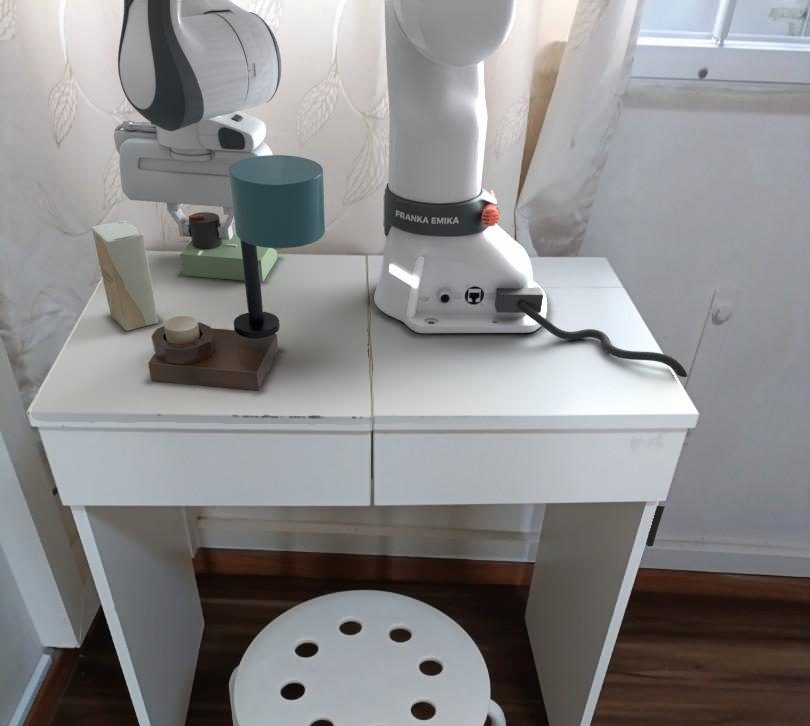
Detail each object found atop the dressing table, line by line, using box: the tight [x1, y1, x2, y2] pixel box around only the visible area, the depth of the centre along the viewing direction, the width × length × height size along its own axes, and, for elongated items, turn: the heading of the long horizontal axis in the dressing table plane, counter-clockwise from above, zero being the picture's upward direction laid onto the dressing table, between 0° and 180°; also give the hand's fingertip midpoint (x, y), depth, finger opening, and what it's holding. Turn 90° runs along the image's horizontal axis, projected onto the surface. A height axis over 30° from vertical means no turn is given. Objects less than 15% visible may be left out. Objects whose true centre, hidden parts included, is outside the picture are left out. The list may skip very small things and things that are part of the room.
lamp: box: [229, 154, 326, 338], centre depth 83 cm, size 10×9×17 cm
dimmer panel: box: [177, 234, 278, 283], centre depth 109 cm, size 13×8×3 cm, turn 83°
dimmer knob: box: [188, 211, 222, 249], centre depth 107 cm, size 4×4×4 cm
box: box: [91, 219, 159, 332], centre depth 94 cm, size 5×4×11 cm
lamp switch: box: [163, 315, 200, 344], centre depth 87 cm, size 4×4×2 cm
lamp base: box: [147, 321, 279, 391], centre depth 89 cm, size 12×9×4 cm
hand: (207, 236), depth 108 cm, fingers closed on dimmer knob, 4 cm apart
